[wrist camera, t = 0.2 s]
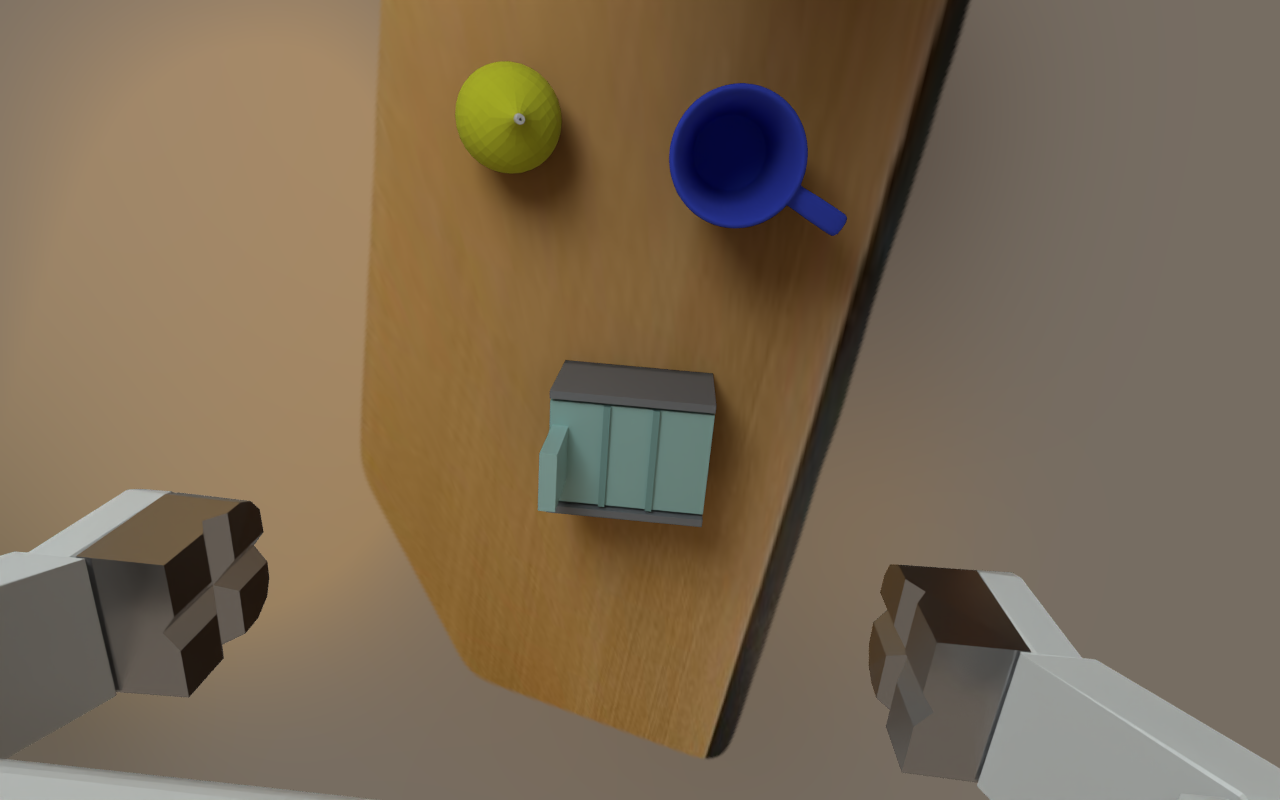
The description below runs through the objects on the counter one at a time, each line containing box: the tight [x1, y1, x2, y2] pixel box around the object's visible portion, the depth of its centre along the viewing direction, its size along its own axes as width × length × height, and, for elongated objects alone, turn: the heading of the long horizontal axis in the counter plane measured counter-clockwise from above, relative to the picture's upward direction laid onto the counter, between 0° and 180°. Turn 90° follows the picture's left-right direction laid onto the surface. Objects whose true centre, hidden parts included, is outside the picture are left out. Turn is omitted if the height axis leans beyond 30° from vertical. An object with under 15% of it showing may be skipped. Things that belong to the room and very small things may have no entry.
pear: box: [455, 61, 562, 174], centre depth 47 cm, size 7×7×10 cm
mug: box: [669, 83, 847, 236], centre depth 48 cm, size 8×12×10 cm
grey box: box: [546, 360, 716, 527], centre depth 57 cm, size 10×12×7 cm
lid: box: [538, 399, 715, 514], centre depth 52 cm, size 8×12×6 cm
